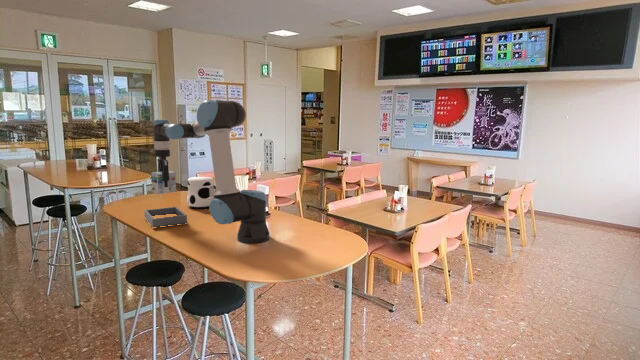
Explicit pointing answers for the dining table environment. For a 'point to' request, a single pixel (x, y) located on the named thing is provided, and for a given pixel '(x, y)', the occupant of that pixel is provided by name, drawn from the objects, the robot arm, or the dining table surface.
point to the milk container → (200, 192)
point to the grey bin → (165, 221)
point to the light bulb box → (158, 183)
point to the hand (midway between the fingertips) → (164, 191)
